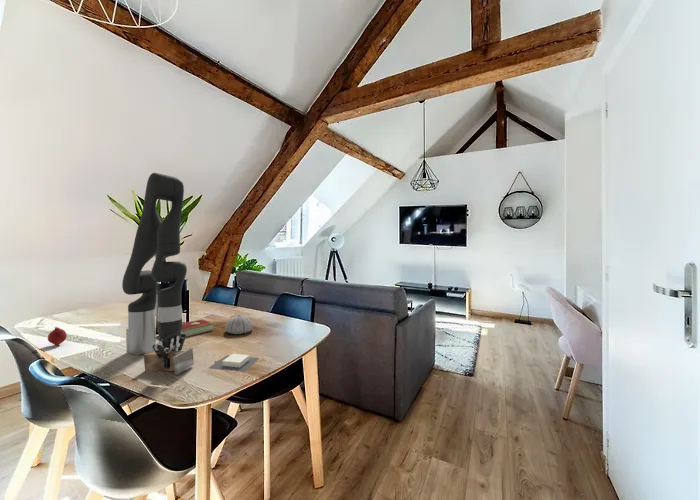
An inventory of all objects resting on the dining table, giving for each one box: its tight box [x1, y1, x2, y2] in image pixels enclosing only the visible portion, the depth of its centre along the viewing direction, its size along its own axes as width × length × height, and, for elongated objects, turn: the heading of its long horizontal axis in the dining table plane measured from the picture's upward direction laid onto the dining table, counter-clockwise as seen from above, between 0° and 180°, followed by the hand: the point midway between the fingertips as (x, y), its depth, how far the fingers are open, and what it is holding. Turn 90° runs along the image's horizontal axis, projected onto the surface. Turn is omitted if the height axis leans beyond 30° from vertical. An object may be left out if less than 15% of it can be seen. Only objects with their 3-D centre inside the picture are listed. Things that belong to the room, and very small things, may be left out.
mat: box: [208, 354, 260, 373], centre depth 113 cm, size 14×12×1 cm
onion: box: [47, 326, 68, 346], centre depth 129 cm, size 6×6×8 cm
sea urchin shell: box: [224, 314, 254, 335], centre depth 151 cm, size 13×14×8 cm
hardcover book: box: [158, 318, 215, 337], centre depth 148 cm, size 12×21×4 cm, turn 144°
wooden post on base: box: [143, 347, 195, 375], centre depth 106 cm, size 15×8×6 cm, turn 80°
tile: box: [222, 353, 251, 367], centre depth 113 cm, size 2×7×7 cm
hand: (170, 366), depth 106 cm, fingers closed, pressing on wooden post on base
